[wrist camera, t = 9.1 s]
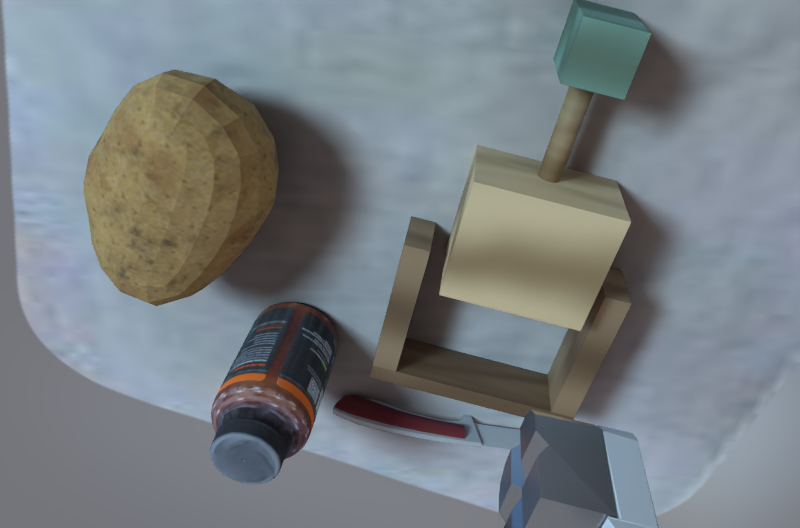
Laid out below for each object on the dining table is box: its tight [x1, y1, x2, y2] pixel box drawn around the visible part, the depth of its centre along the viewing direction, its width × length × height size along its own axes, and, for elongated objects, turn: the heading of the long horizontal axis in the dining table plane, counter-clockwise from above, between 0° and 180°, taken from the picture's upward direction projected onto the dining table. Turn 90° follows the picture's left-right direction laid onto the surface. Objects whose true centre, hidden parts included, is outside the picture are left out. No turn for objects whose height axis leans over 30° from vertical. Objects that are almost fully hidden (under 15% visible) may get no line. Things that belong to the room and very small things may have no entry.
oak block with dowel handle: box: [439, 0, 652, 331], centre depth 34 cm, size 16×8×5 cm, turn 168°
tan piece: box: [370, 216, 632, 420], centre depth 41 cm, size 10×13×4 cm
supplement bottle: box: [210, 302, 338, 484], centre depth 40 cm, size 6×6×11 cm
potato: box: [84, 70, 279, 306], centre depth 36 cm, size 10×14×8 cm
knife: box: [333, 395, 521, 450], centre depth 46 cm, size 20×1×3 cm, turn 85°
